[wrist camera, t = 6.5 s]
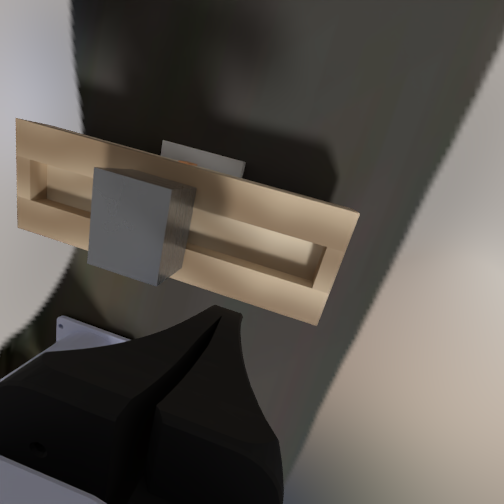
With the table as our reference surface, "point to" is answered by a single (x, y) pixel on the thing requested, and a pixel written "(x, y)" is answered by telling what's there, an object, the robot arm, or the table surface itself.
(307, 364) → the table surface
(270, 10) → the table surface
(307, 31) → the table surface
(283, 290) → the tan slotted track
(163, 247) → the block
